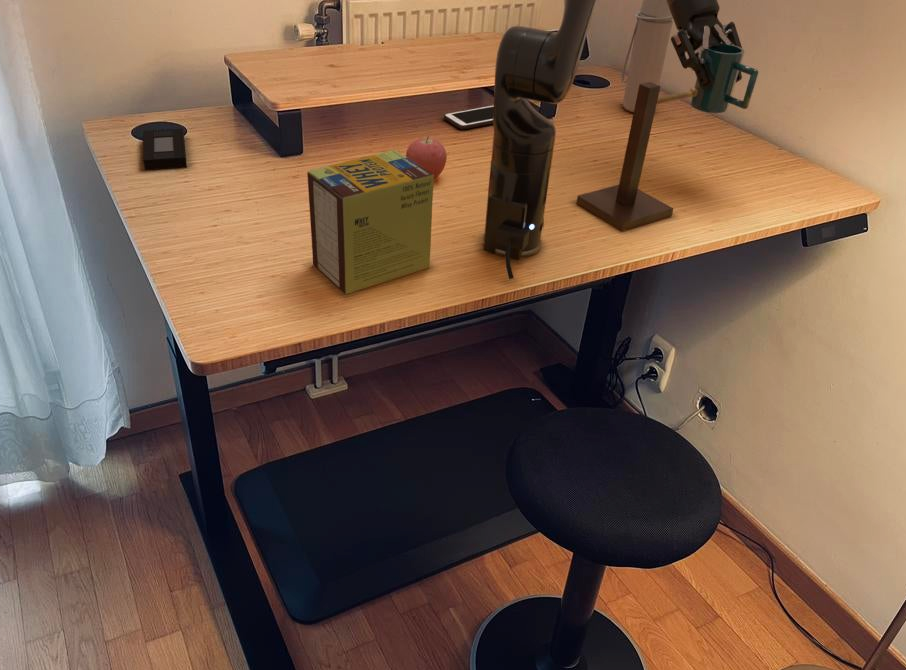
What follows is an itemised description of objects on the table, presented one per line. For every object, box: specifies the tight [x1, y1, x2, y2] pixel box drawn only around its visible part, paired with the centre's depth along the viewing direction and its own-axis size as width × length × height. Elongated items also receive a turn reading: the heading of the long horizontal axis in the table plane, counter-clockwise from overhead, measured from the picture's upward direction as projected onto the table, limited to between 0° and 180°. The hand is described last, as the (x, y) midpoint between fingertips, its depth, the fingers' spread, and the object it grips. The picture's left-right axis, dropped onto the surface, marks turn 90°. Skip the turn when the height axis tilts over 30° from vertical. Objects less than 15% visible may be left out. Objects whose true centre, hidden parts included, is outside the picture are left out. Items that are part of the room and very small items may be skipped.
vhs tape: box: [142, 128, 188, 171], centre depth 151 cm, size 8×14×2 cm, turn 16°
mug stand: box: [575, 82, 698, 232], centre depth 135 cm, size 18×12×22 cm
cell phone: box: [443, 104, 494, 130], centre depth 172 cm, size 8×15×1 cm, turn 121°
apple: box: [405, 135, 448, 179], centre depth 145 cm, size 7×7×8 cm
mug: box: [690, 42, 759, 114], centre depth 136 cm, size 11×6×10 cm, turn 33°
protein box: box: [306, 149, 435, 295], centre depth 117 cm, size 10×15×16 cm
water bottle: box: [621, 0, 674, 114], centre depth 174 cm, size 9×8×25 cm
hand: (722, 84), depth 137 cm, fingers closed on mug, 6 cm apart
